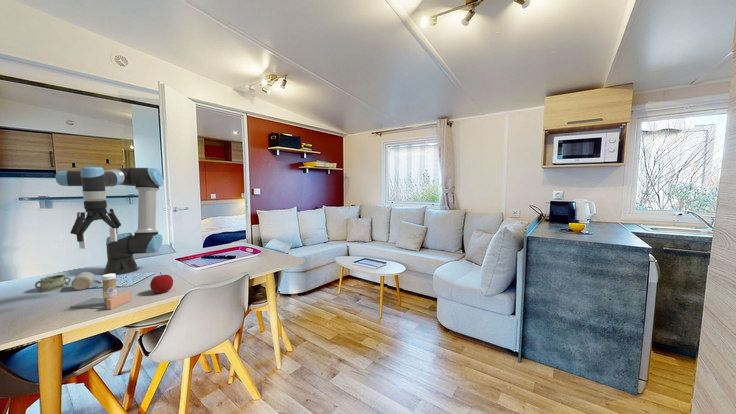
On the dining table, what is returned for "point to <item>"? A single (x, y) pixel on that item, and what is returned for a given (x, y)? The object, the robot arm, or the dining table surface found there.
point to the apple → (161, 283)
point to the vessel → (52, 283)
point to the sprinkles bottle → (109, 286)
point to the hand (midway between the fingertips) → (99, 244)
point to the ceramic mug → (85, 281)
